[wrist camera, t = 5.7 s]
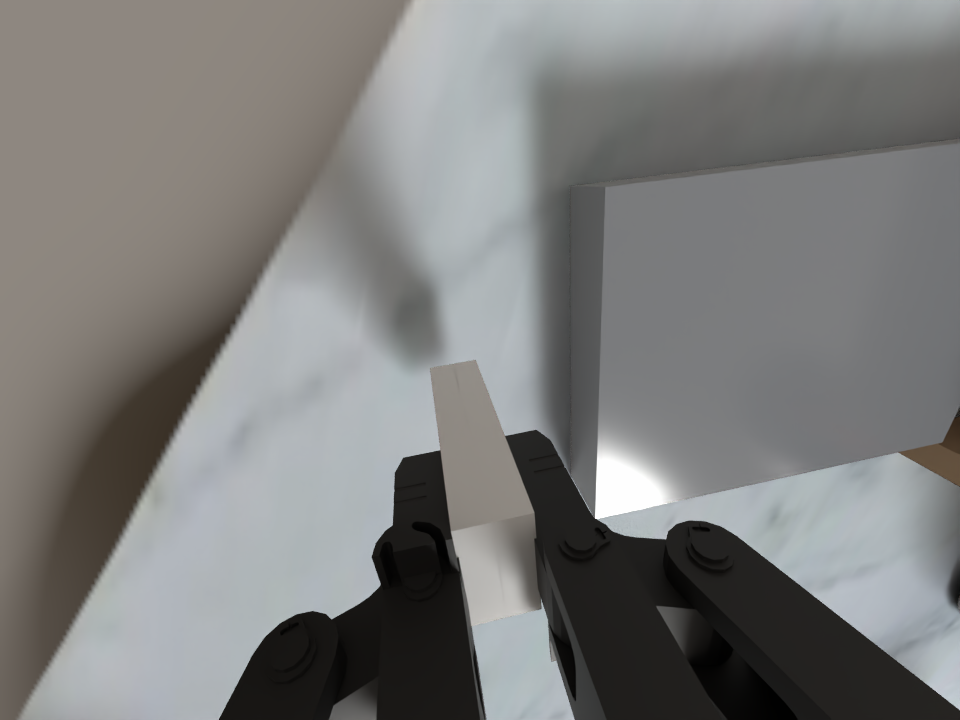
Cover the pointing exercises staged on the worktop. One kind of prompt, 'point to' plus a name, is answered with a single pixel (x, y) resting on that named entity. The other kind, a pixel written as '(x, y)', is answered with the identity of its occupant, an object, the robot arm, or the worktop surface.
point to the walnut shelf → (941, 455)
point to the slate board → (761, 321)
